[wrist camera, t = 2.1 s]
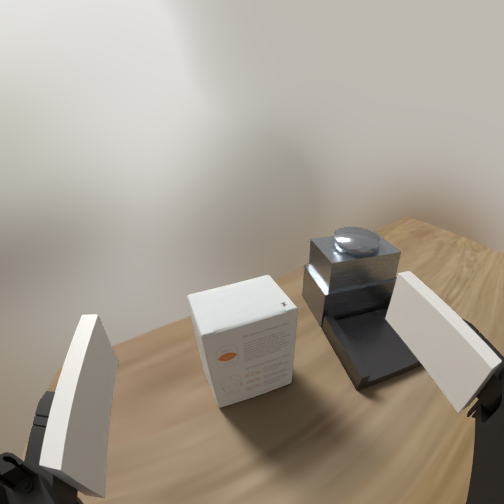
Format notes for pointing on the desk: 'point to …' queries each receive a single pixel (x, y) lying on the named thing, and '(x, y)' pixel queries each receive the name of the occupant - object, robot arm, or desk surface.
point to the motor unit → (357, 303)
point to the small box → (244, 338)
